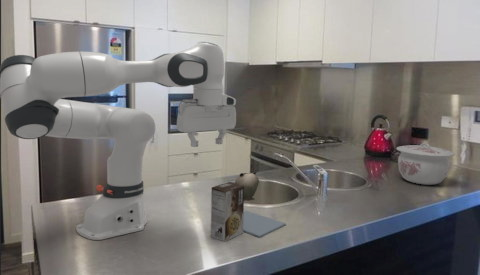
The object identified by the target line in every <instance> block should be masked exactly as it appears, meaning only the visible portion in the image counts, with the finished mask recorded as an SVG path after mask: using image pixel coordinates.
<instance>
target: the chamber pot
mask: <svg viewBox="0 0 480 275" xmlns="http://www.w3.org/2000/svg"><path fill="white" fill-rule="evenodd" d="M396 151H398V152H400V154H399V156H398V159H397V165H398V170H399V173H400V174H401V176H402V178H403V179H404V180H406V181H407V182H409V183H412V184H415V183H416V185H420V184H421V185H423V186H435V185H439V184H440V183H442V182H443V180H445V179H446V177H448V174H449V172H450V170H451V165H452V163H451V161H450V159H449V158H450V157H453V156H456V155H455V152H453V151H452V150H448V149H445V148H441V147H437V146H431V145H430V144H428V143H427V142H423V143H421V144H420V145H419V144H416V145H415V144H412V145H411V144H409V145H402V146H401V145H400V146H397V147H396Z"/></svg>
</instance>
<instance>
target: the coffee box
mask: <svg viewBox="0 0 480 275" xmlns="http://www.w3.org/2000/svg"><path fill="white" fill-rule="evenodd" d="M210 199H211V204H210V207H211V210H210V211H211V212H210V236H211V237H212V238H215V239H217V240H220V241H222V242H227V241H229V240H231V239H233V238H235V237H238V236H239V235H241V234H243V233H244V232H243V212H244V211H245V209H244V205H245V201H244V186H243V185H239V184H237V183H235V182H233V181H229V182H228V181H227V182H225V183H222V184H219V185H215V186H212V187H211V198H210Z"/></svg>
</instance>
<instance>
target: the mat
mask: <svg viewBox="0 0 480 275" xmlns="http://www.w3.org/2000/svg"><path fill="white" fill-rule="evenodd" d="M284 226H287V223H285V222H283V221H280V220H277V219H272V218H270V217H266V216H263V215H260V214H258V213H254V212H251V211H248V210H244V212H243V233H244V234H245V233H246V234H248V235H250V236H251V235H252V237H257V238H259V239H260V238H262V237H264V236H267V235H269V234H270V233H272V232H275V231H277V230H279V229H281V228H283V227H284Z"/></svg>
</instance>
